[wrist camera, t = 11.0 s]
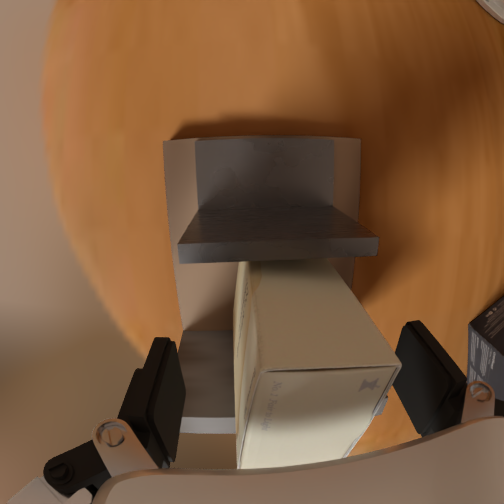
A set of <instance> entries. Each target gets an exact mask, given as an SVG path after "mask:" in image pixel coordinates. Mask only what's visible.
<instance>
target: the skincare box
mask: <svg viewBox="0 0 504 504" xmlns="http://www.w3.org/2000/svg"><path fill="white" fill-rule="evenodd" d="M233 348H234V392H235V423H236V448H237V469H255V468H272V467H284V466H293V465H302V464H310V463H317V462H324V461H330V460H335V459H341V458H346V457H347V455H348V454H349V453H350V451H351V450H352V448H353V447H354V446H355V444H356V443H357V442H358V440H359V439H360V437H361V436H362V435H363V433H364V432H365V430H366V429H367V427H368V426H369V424H370V423H371V421H372V419H373V417H374V416H375V414H376V412H377V410H378V409H379V407H380V405H381V404H382V402H383V400H384V398H385V397H386V395H387V393H388V391H389V389H390V387H391V386H392V384H393V382H394V379H395V378H396V376H397V374H398V372H399V371H400V369H401V367H402V364H401V362H400V360H399V359H398V357H397V356H396V354H395V353H394V351H393V350H392V348H391V347H390V345H389V344H388V342H387V341H386V340H385V338H384V337H383V335H382V334H381V332H380V331H379V330H378V328H377V327H376V325H375V324H374V322H373V321H372V319H371V318H370V317H369V315H368V314H367V312H366V311H365V309H364V308H363V307H362V305H361V304H360V302H359V301H358V299H357V298H356V297H355V295H354V294H353V293H352V291H351V290H350V288H349V287H348V286H347V284H346V283H345V282H344V280H343V279H342V278H341V276H340V275H339V273H338V272H337V271H336V269H335V268H334V267H333V265H332V264H331V263H330V261H329V260H328V259H327V258H318V259H295V260H271V261H246V262H239V265H238V273H237V281H236V290H235V299H234V308H233Z"/></svg>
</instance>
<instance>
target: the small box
mask: <svg viewBox="0 0 504 504" xmlns="http://www.w3.org/2000/svg"><path fill="white" fill-rule="evenodd" d="M473 381H483V382H486V383H487V384H489V385H490V386H491V387H492V388H493V390H494V393H495V398H496V399H499V400H502V401H504V296H503V297H502V298H501V299H500V300H498V301H497V302H496V303H494V304H493V305H492V306H491V307H490V308H489V309H487V310H486V311H485V312H483V313H482V314H481V315H480V316H479V317H477V318H476V319H475V320H473V321H472V322H471V323H469V324H468V369H467V384H468V385H469V383H471V382H473Z"/></svg>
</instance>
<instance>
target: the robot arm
mask: <svg viewBox="0 0 504 504" xmlns="http://www.w3.org/2000/svg"><path fill="white" fill-rule="evenodd" d="M476 1H477V2H478V3H479V4H480V5H481V6H482V7H483V8H484V9H485V10H486V11H487V12H488V13H489V14H491V15H492V16H493V17H494V18H496V19H497V20H498V21H500V22H501V23H503V24H504V0H476ZM395 354H396V356H397V357H398V359H399V360H400V362H401V364H402V367H401V369H400V371H399V372H398V374H397V376H396V378H395V379H394V382H393V384H392V385H393V387H394V389H395V390H396V392H397V394H398V396H399V398H400V400H401V402H402V404H403V406H404V408H405V410H406V411H407V413H408V415H409V417H410V419H411V421H412V423H413V425H414V427H415V429H416V431H417V433H418V434H421V436H422V438H419V439H416V440H412V441H409V442H406V443H403V444H399V445H396V446H392V447H389V448H385V449H381V450H377V451H373V452H369V453H365V454H360V455H356V456H351V457H346V458H341V459H335V460H330V461H324V462H317V463H310V464H302V465H293V466H284V467H272V468H255V469H181V468H169V467H170V462H174V461H175V458H176V452H177V445H178V439H179V433H180V427H181V421H182V415H183V409H184V403H185V398H186V388H185V383H184V379H183V375H182V371H181V366H180V362H179V358H178V353H177V348H176V344H175V342H174V341H171V340H170V338H168V337H155V338H154V341H153V343H152V346H151V348H150V351H149V354H148V356H147V359H146V362H145V364H144V367H143V369H139V368H137V369H136V370H135V372H134V375H133V377H132V380H131V382H130V385H129V387H128V390H127V393H126V395H125V398H124V401H123V404H122V406H121V409H120V412H119V415H118V418H109V419H105V420H103V421H101V422H100V423H98V424H97V425H96V426H95V428H94V429H93V432H92V440H90V441H88V442H87V443H84V444H82V445H80V446H78V447H76V448H74V449H72V450H69V451H67V452H65V453H63V454H60V455H58V456H56V457H53V458H52V459H50V460H49V461H48V462H47V463H46V464H45V467H44V471H43V473H44V475H43V476H42V477H41V478H40V479H39V478H38V477H36V478H35V479H34V480H32V481H31V482H30V483H29V484H28V485H26V486H25V487H24V488H23V489H22V490H20V491H19V492H18V493H17V494H15V495H14V496H13V497H12V498H10V499H9V501H8V502H7V503H6V504H504V401H502V400H499V399H496V398H495V393H494V390H493V388H492V387H491V386H490V385H489V384H487V383H486V382H483V381H473V382H471V383H469V385H468V384H467V383H466V381H467V378H466V376H465V375H464V374H463V372H462V371H461V370H460V369H459V367H458V366H457V365H456V363H455V362H454V361H453V360H452V358H451V357H450V356H449V355H448V353H447V352H446V351H445V350H444V348H443V347H442V346H441V345H440V344H439V342H438V341H437V340H436V339H435V337H434V336H433V335H432V334H431V333H430V331H429V330H428V329H427V328H426V327H425V326H424V324H423V323H422V322H421V321H420V320H416V321H410V322H407V323H406V325H405V326H403V328H402V331H401V334H400V338H399V341H398V345H397V348H396V351H395Z"/></svg>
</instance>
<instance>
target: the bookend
mask: <svg viewBox="0 0 504 504" xmlns="http://www.w3.org/2000/svg"><path fill="white" fill-rule="evenodd" d="M195 162H196V182H197V199H198V211H197V212H196V214H195V216H194V217H193V219H192V220H191V222H190V224H189V225H188V227H187V229H186V230H185V232H184V234H183V235H182V237H181V239H180V240H179V242H178V244H177V247H178V256H179V264H192V263H220V262H246V261H271V260H295V259H318V258H340V257H361V256H377V252H378V243H379V237H378V236H377V235H375V234H374V233H372V232H371V231H369V230H368V229H367V228H365V227H364V226H362V225H361V224H359V223H358V222H356V221H355V220H353V219H352V218H350V217H349V216H347V215H346V214H344V213H343V212H341V211H340V210H338V209H337V208H335V207H334V206H333V188H334V140H328V139H302V138H247V139H221V140H204V141H195Z"/></svg>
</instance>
